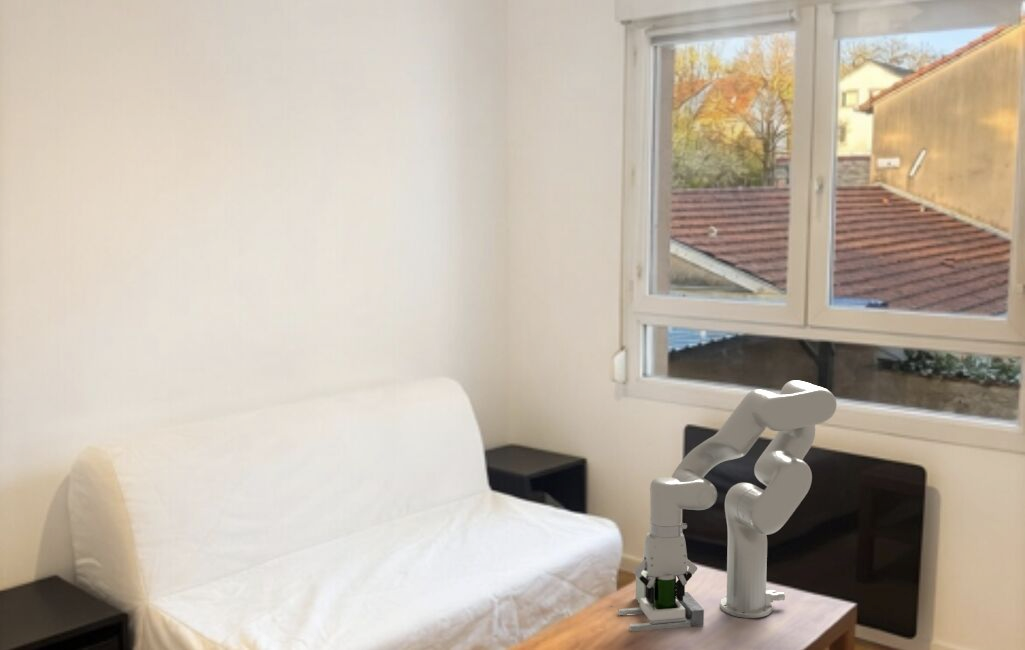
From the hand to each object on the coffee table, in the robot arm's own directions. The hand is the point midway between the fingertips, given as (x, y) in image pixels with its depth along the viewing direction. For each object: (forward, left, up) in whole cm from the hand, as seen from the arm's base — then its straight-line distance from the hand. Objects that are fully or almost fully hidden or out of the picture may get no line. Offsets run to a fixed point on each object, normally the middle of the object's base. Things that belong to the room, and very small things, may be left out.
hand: (665, 599), depth 236 cm
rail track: (+1, 0, -5) cm, 5 cm away
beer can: (0, 0, -5) cm, 5 cm away
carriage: (+1, 0, -3) cm, 3 cm away
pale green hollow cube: (-1, -10, -5) cm, 11 cm away
